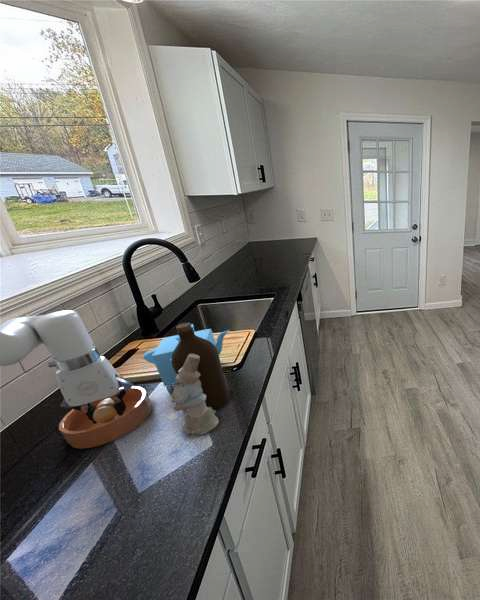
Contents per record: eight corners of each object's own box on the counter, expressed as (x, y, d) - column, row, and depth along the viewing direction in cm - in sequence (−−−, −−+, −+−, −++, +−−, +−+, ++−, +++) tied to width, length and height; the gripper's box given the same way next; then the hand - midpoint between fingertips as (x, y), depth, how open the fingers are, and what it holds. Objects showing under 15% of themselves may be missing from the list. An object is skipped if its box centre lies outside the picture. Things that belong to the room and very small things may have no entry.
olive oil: (238, 399, 90) (212, 322, 81) (198, 421, 83) (164, 339, 74) (224, 385, 97) (198, 312, 87) (185, 404, 90) (153, 327, 80)
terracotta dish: (55, 460, 74) (45, 444, 72) (82, 414, 89) (74, 400, 87) (146, 429, 82) (138, 415, 80) (157, 392, 96) (151, 378, 94)
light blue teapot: (150, 385, 100) (131, 345, 94) (204, 353, 115) (191, 318, 110) (189, 398, 92) (171, 356, 87) (240, 363, 108) (229, 325, 102)
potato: (117, 422, 82) (109, 408, 80) (94, 429, 80) (86, 416, 78) (124, 405, 89) (117, 392, 87) (104, 411, 87) (96, 398, 85)
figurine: (226, 411, 86) (204, 349, 78) (211, 436, 78) (185, 369, 70) (193, 415, 86) (168, 352, 78) (175, 439, 78) (145, 373, 70)
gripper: (23, 379, 71) (63, 439, 78) (117, 355, 78) (145, 412, 85) (39, 363, 77) (74, 420, 84) (125, 342, 84) (150, 396, 91)
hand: (109, 415), depth 84 cm, fingers closed on potato, 4 cm apart
